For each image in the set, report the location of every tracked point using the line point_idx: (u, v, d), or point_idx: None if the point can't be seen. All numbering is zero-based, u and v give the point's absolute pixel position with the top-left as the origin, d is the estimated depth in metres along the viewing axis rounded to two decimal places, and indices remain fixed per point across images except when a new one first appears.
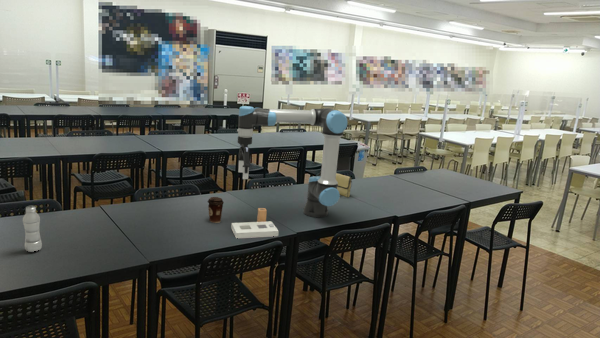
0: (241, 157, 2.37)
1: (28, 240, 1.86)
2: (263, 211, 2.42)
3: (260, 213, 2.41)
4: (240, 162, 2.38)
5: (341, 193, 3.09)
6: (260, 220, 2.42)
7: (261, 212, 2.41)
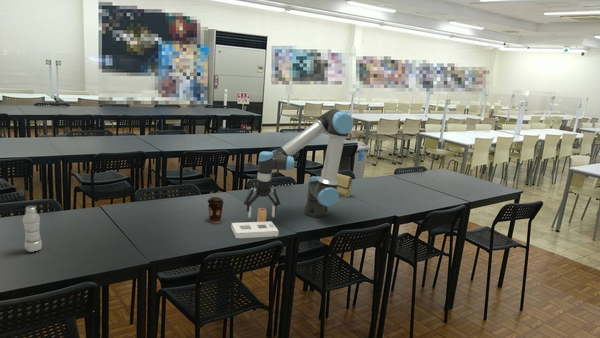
0: (272, 201, 2.44)
1: (28, 240, 1.86)
2: (263, 211, 2.42)
3: (260, 213, 2.41)
4: (272, 206, 2.46)
5: (341, 193, 3.09)
6: (260, 220, 2.42)
7: (261, 212, 2.41)
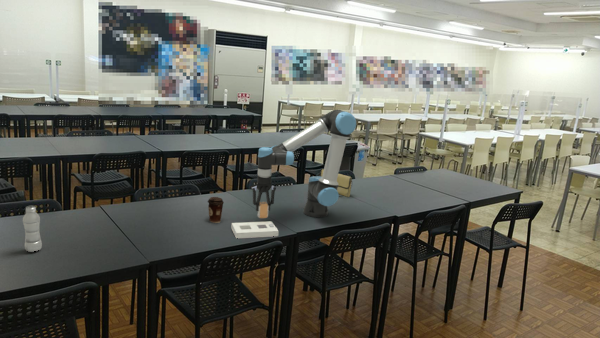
0: (267, 200, 2.43)
1: (28, 240, 1.86)
2: (264, 205, 2.41)
3: (261, 207, 2.41)
4: None
5: (341, 193, 3.09)
6: (261, 214, 2.42)
7: (262, 206, 2.41)
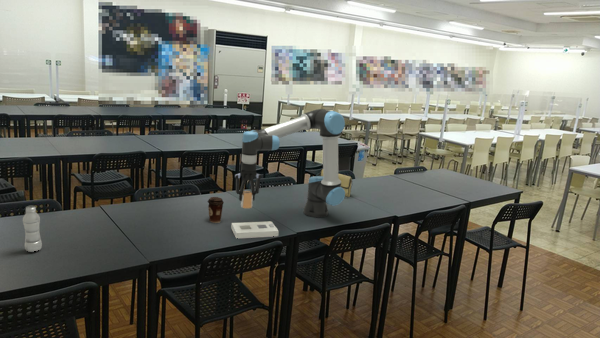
0: (251, 189, 2.25)
1: (28, 240, 1.86)
2: (248, 194, 2.23)
3: (245, 196, 2.22)
4: None
5: None
6: (245, 204, 2.23)
7: (246, 195, 2.22)
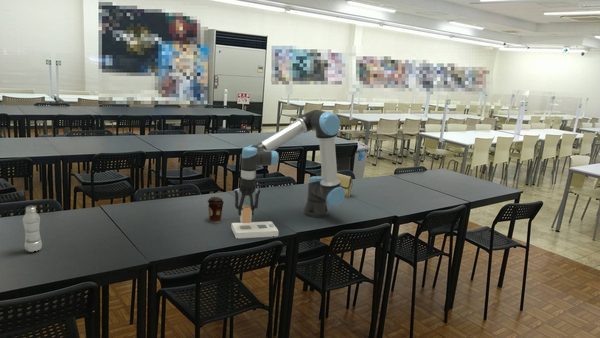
0: (250, 203, 2.27)
1: (28, 240, 1.86)
2: (247, 209, 2.24)
3: (244, 211, 2.24)
4: None
5: None
6: (244, 218, 2.25)
7: (245, 210, 2.24)
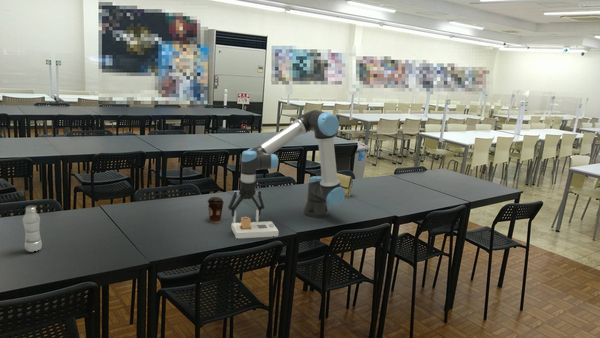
0: (256, 205, 2.28)
1: (28, 240, 1.86)
2: (247, 220, 2.26)
3: (244, 222, 2.25)
4: (256, 210, 2.29)
5: None
6: None
7: (245, 221, 2.26)
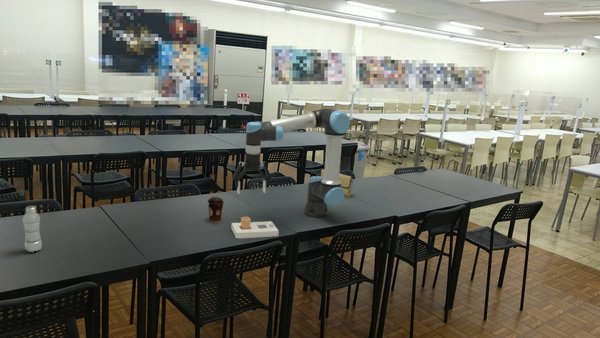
0: None
1: (28, 240, 1.86)
2: (247, 220, 2.26)
3: (244, 222, 2.25)
4: (263, 181, 2.30)
5: None
6: None
7: (245, 221, 2.26)
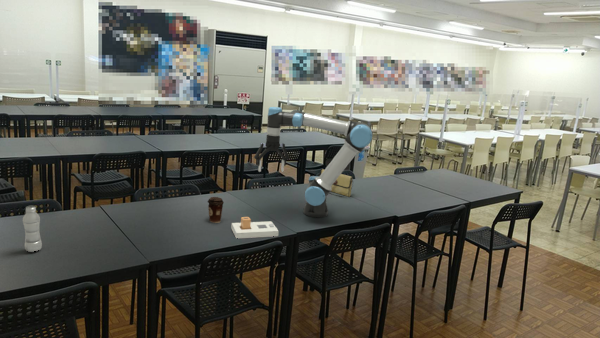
0: (281, 156, 2.52)
1: (28, 240, 1.86)
2: (247, 220, 2.26)
3: (244, 222, 2.25)
4: (282, 161, 2.54)
5: (342, 193, 3.10)
6: None
7: (245, 221, 2.26)
